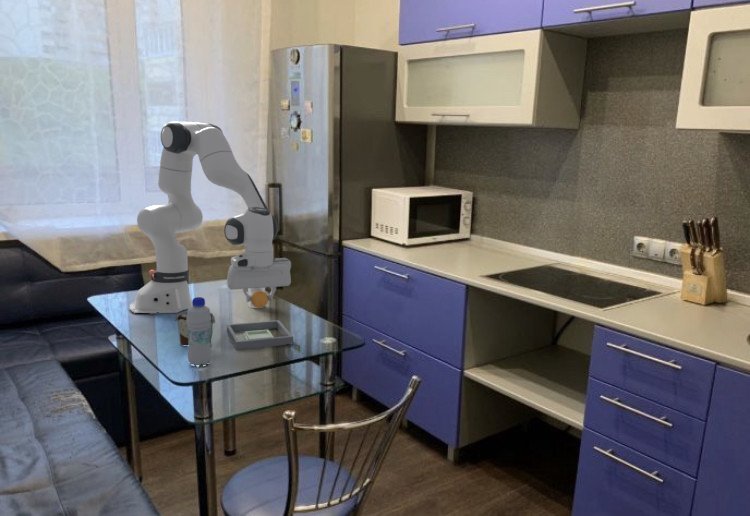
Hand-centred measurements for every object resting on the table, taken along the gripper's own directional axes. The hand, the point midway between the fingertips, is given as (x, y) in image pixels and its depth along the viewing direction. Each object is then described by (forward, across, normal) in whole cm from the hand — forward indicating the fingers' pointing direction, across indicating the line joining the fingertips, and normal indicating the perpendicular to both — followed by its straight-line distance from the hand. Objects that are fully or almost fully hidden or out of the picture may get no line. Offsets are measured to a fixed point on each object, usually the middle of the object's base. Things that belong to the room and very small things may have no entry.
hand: (259, 300), depth 190 cm
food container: (+13, +19, 0) cm, 23 cm away
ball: (0, 0, 0) cm, 0 cm away
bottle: (+13, +21, +18) cm, 31 cm away
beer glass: (+13, -7, -36) cm, 39 cm away
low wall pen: (+13, 0, 0) cm, 13 cm away
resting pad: (+13, 0, 0) cm, 13 cm away
